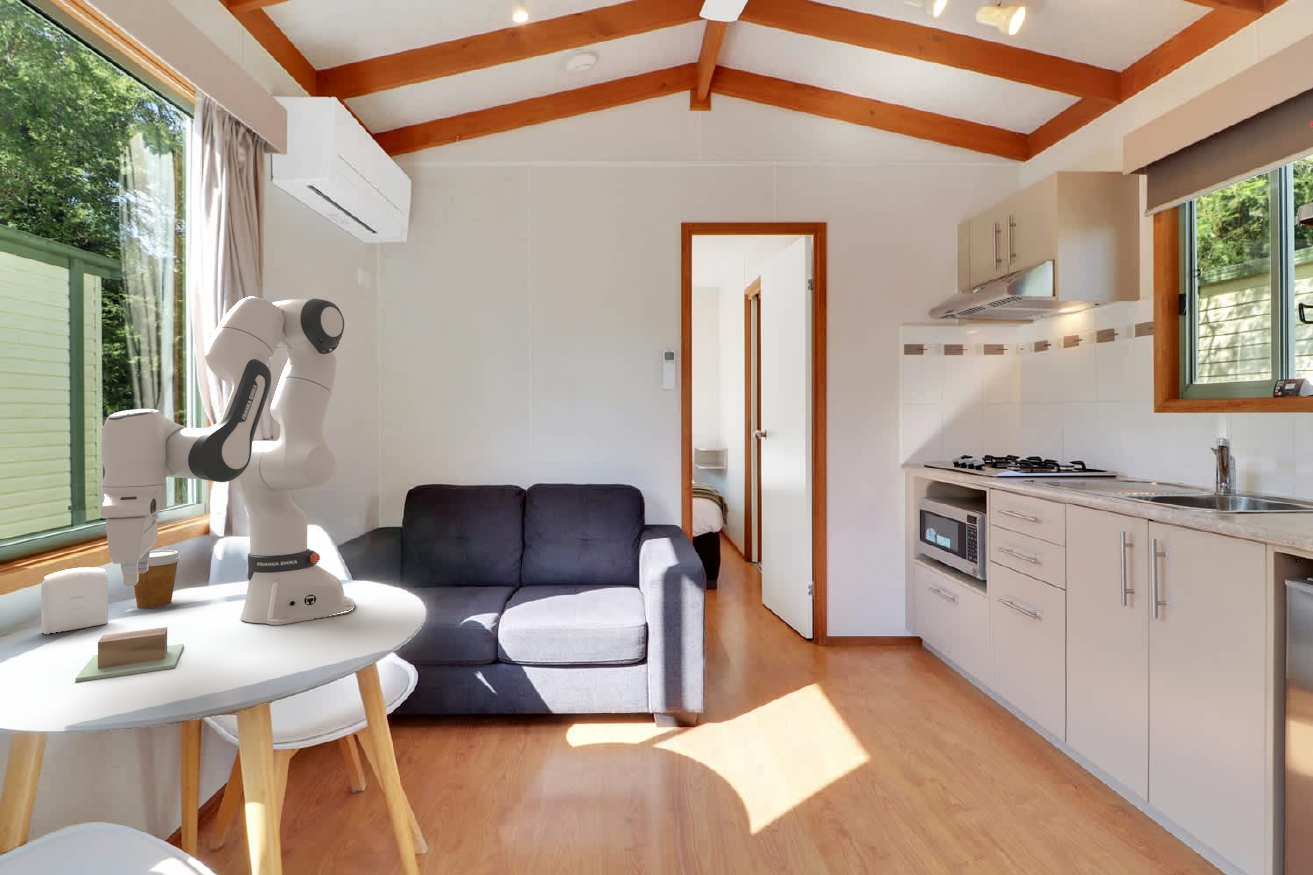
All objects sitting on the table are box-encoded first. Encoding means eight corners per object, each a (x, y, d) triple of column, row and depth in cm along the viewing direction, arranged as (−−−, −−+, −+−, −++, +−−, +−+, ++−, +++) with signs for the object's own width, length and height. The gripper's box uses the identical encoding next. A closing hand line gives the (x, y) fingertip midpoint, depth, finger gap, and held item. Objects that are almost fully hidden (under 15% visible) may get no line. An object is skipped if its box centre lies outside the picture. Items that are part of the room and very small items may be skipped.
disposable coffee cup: (155, 598, 153) (155, 549, 153) (190, 600, 152) (190, 550, 152) (116, 609, 144) (117, 556, 144) (153, 611, 143) (153, 558, 143)
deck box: (102, 660, 111) (102, 634, 111) (167, 651, 116) (167, 626, 116) (97, 668, 108) (97, 642, 107) (164, 658, 112) (164, 633, 112)
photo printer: (42, 636, 125) (42, 574, 125) (39, 631, 128) (39, 570, 128) (110, 624, 133) (110, 566, 133) (106, 620, 136) (106, 563, 136)
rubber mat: (183, 646, 120) (183, 643, 120) (174, 667, 110) (174, 664, 110) (93, 658, 114) (93, 655, 114) (75, 681, 103) (75, 678, 103)
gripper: (124, 495, 119) (125, 568, 119) (97, 509, 101) (99, 594, 102) (166, 493, 122) (167, 564, 123) (147, 507, 105) (149, 589, 105)
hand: (136, 578), depth 112 cm, fingers open, 8 cm apart
